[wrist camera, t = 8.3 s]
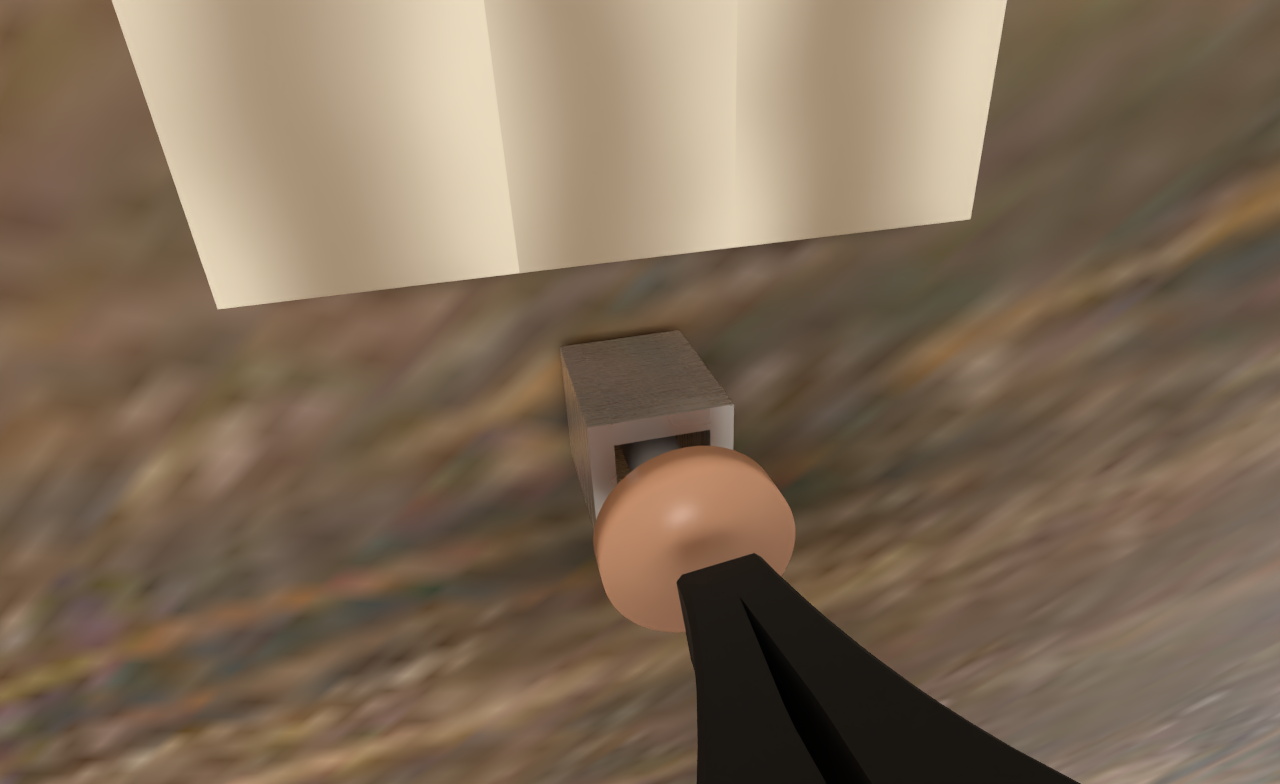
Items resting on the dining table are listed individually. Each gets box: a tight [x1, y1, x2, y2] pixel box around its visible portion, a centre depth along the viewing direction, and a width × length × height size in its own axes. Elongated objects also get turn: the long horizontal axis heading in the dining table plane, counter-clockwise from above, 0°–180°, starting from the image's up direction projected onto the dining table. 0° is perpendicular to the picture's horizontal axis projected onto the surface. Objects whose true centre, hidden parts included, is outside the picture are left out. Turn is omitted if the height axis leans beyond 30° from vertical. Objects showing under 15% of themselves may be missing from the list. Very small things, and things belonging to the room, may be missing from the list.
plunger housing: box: [560, 330, 734, 530], centre depth 17 cm, size 3×3×4 cm
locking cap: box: [593, 436, 795, 632], centre depth 15 cm, size 4×4×4 cm
